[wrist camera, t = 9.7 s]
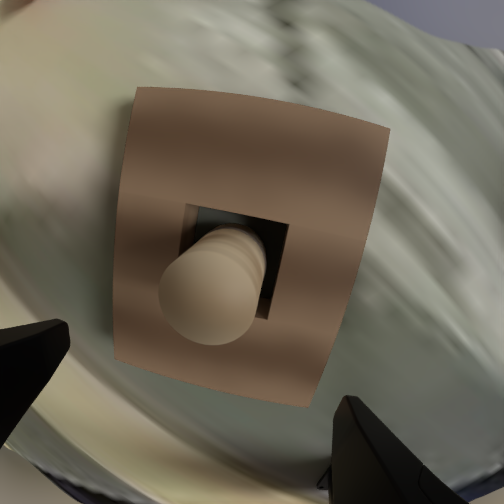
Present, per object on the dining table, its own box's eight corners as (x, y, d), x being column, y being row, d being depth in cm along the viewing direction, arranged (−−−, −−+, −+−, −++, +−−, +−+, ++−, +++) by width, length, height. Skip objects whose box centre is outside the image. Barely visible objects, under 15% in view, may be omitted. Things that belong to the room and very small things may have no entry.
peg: (262, 286, 20) (247, 356, 12) (201, 273, 20) (154, 331, 12) (275, 226, 19) (267, 264, 11) (210, 212, 19) (161, 240, 11)
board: (306, 381, 22) (308, 407, 19) (131, 339, 22) (114, 358, 19) (374, 134, 17) (390, 128, 14) (157, 97, 17) (137, 86, 15)
